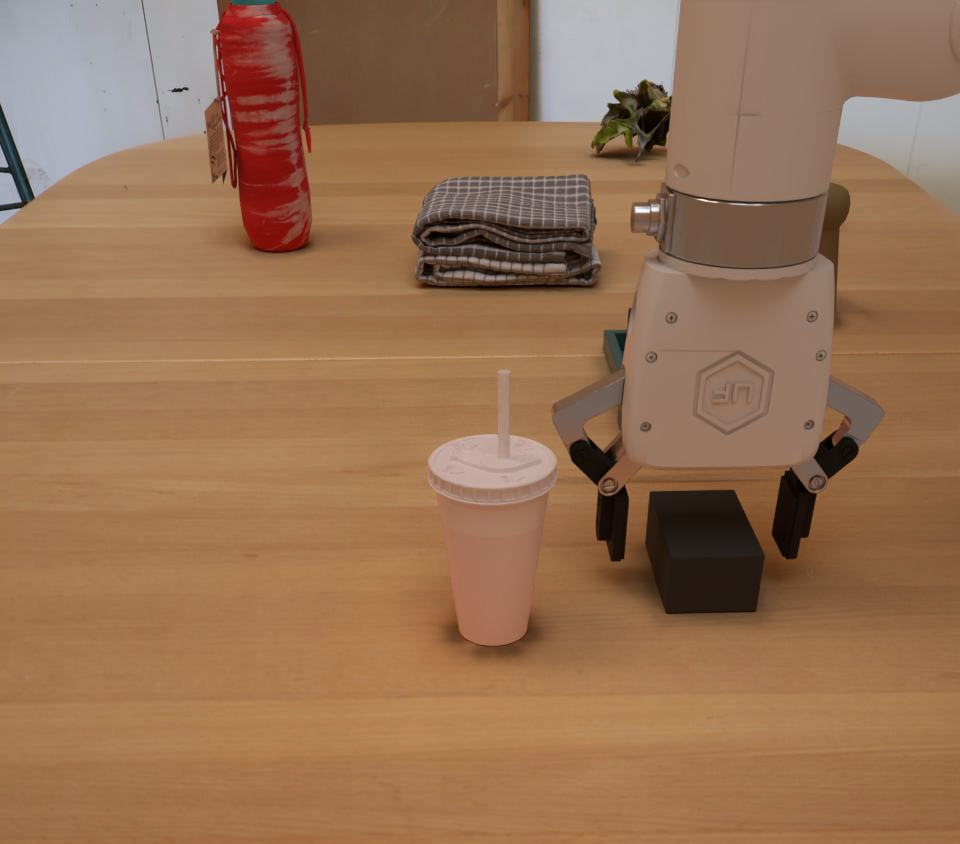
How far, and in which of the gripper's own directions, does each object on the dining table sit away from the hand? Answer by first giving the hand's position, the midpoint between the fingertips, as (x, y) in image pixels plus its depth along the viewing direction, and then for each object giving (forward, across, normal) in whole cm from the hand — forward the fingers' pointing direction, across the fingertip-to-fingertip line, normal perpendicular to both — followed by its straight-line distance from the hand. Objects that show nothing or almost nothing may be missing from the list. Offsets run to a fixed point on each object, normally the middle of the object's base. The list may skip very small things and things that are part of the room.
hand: (698, 549), depth 64 cm
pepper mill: (+2, +18, +47) cm, 51 cm away
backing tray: (+2, +3, +27) cm, 27 cm away
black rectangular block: (+2, 0, 0) cm, 2 cm away
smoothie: (+2, -12, -5) cm, 13 cm away
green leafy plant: (+2, +13, +119) cm, 120 cm away
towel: (+2, -8, +63) cm, 64 cm away
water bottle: (+2, -34, +74) cm, 81 cm away
